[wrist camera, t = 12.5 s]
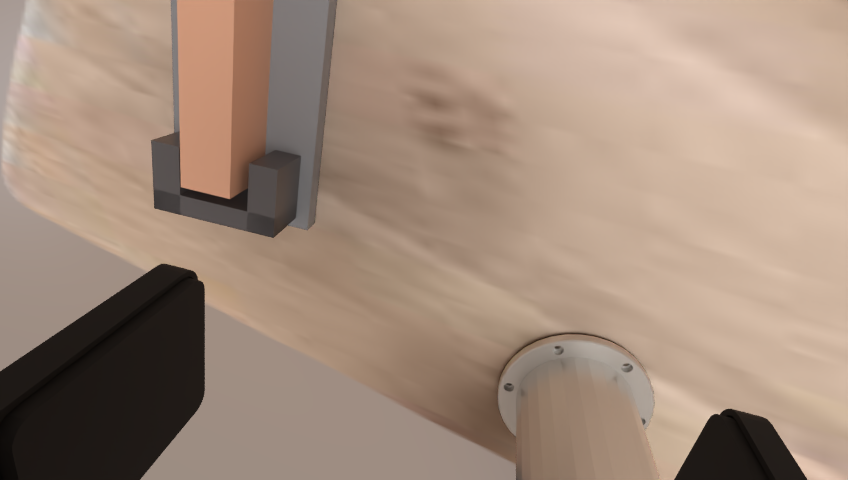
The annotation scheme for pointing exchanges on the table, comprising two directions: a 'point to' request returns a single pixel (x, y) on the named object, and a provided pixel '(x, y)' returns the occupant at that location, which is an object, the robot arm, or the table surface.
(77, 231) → the table surface
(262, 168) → the end caps
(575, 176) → the table surface
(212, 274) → the table surface
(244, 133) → the slat
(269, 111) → the board
